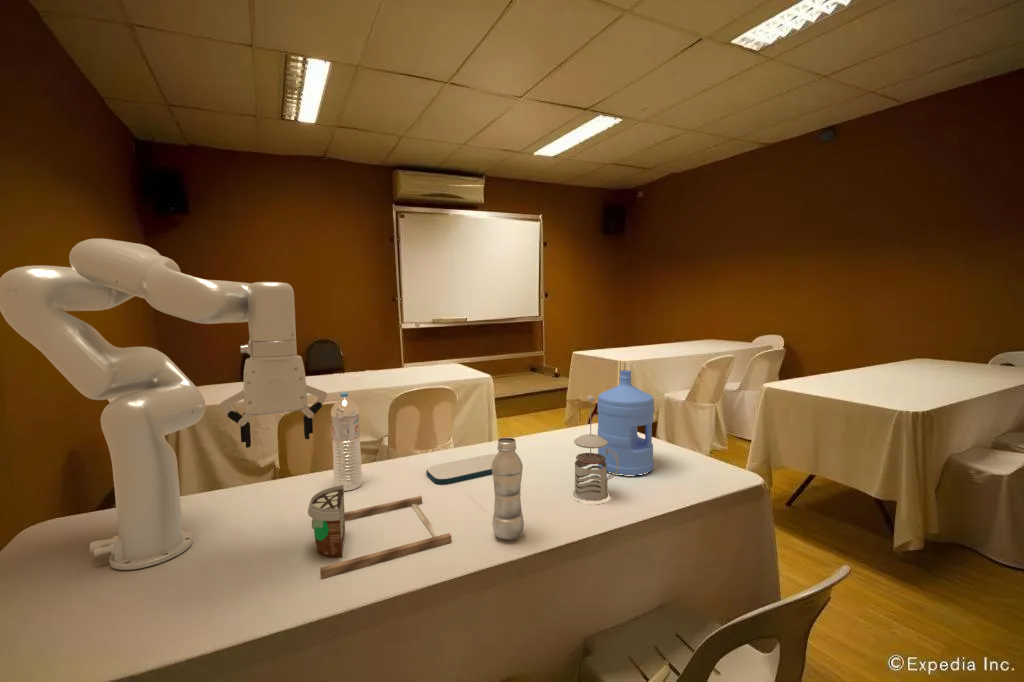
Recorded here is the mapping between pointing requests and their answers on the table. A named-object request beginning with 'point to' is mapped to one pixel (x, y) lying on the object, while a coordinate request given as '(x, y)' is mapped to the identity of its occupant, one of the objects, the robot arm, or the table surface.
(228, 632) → the table surface
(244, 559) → the table surface
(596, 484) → the french press
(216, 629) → the table surface
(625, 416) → the water jug
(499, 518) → the plastic bottle
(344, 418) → the water bottle
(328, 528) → the food container
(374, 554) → the wooden frame
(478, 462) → the external hard drive
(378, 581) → the table surface
